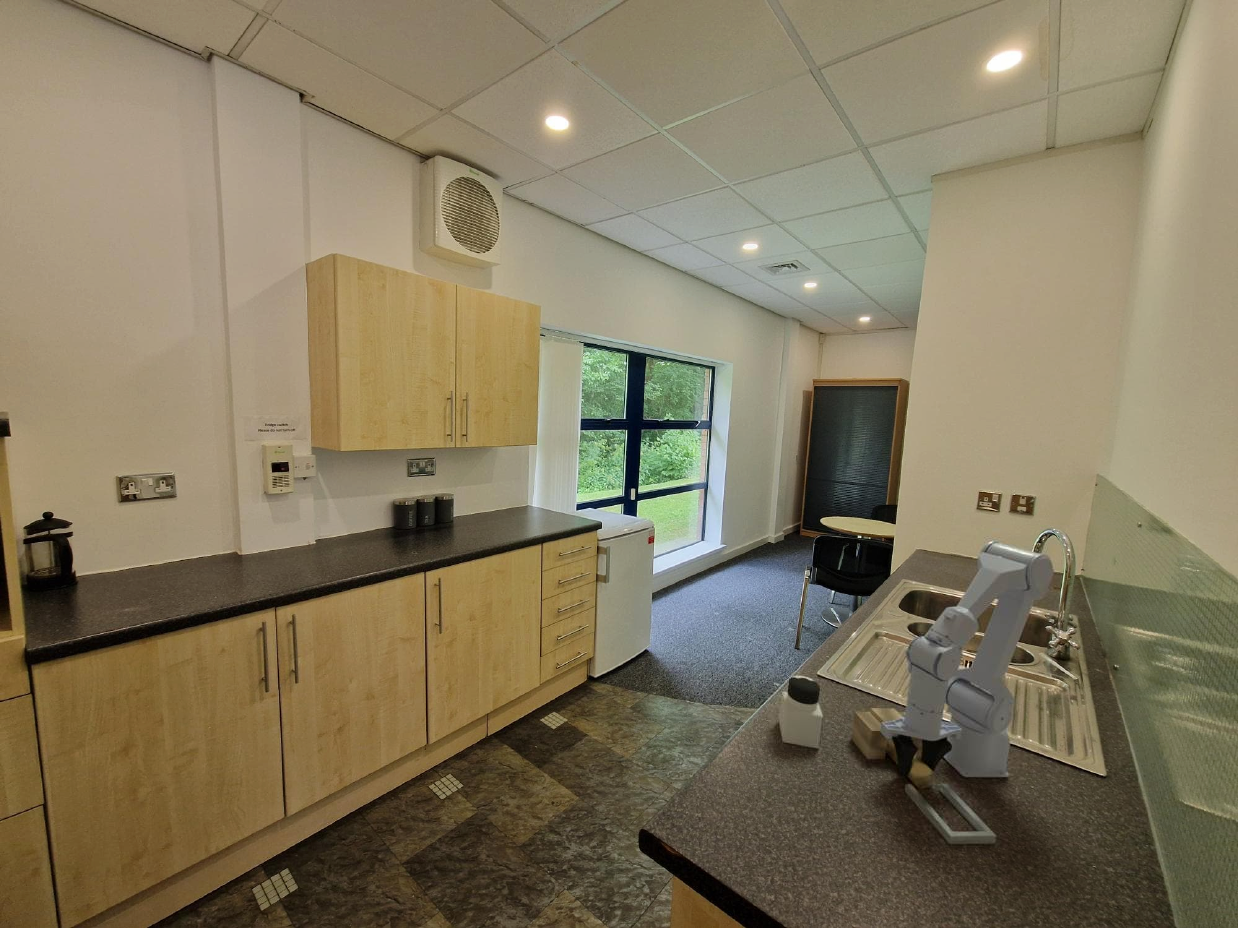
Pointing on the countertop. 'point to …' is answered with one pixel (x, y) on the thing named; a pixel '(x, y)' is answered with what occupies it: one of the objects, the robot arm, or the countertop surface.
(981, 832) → the cradle
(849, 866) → the countertop surface
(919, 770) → the axle
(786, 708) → the medicine bottle
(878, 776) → the countertop surface
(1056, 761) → the countertop surface
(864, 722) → the wooden stepped block
